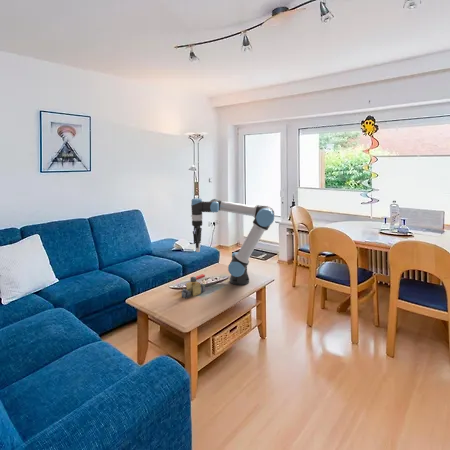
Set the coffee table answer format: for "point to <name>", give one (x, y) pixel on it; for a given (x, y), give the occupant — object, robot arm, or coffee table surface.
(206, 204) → the robot arm
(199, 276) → the lever
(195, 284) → the valve
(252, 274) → the coffee table surface
